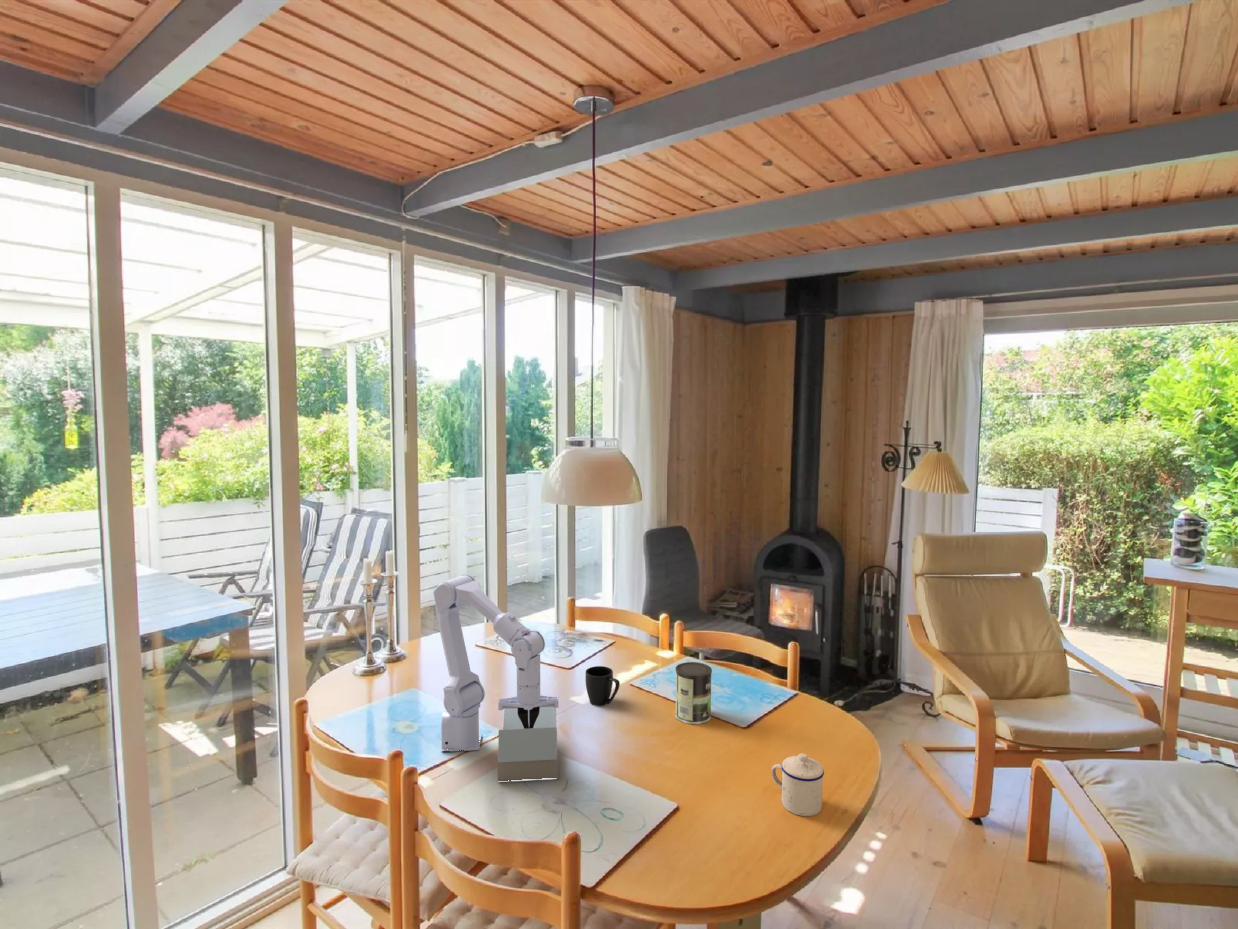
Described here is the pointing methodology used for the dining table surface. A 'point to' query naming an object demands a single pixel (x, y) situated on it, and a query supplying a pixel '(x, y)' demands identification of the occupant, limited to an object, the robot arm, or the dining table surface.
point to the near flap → (527, 744)
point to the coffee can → (693, 692)
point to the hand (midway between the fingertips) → (528, 735)
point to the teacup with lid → (800, 784)
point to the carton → (527, 769)
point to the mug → (600, 685)
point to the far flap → (543, 720)
